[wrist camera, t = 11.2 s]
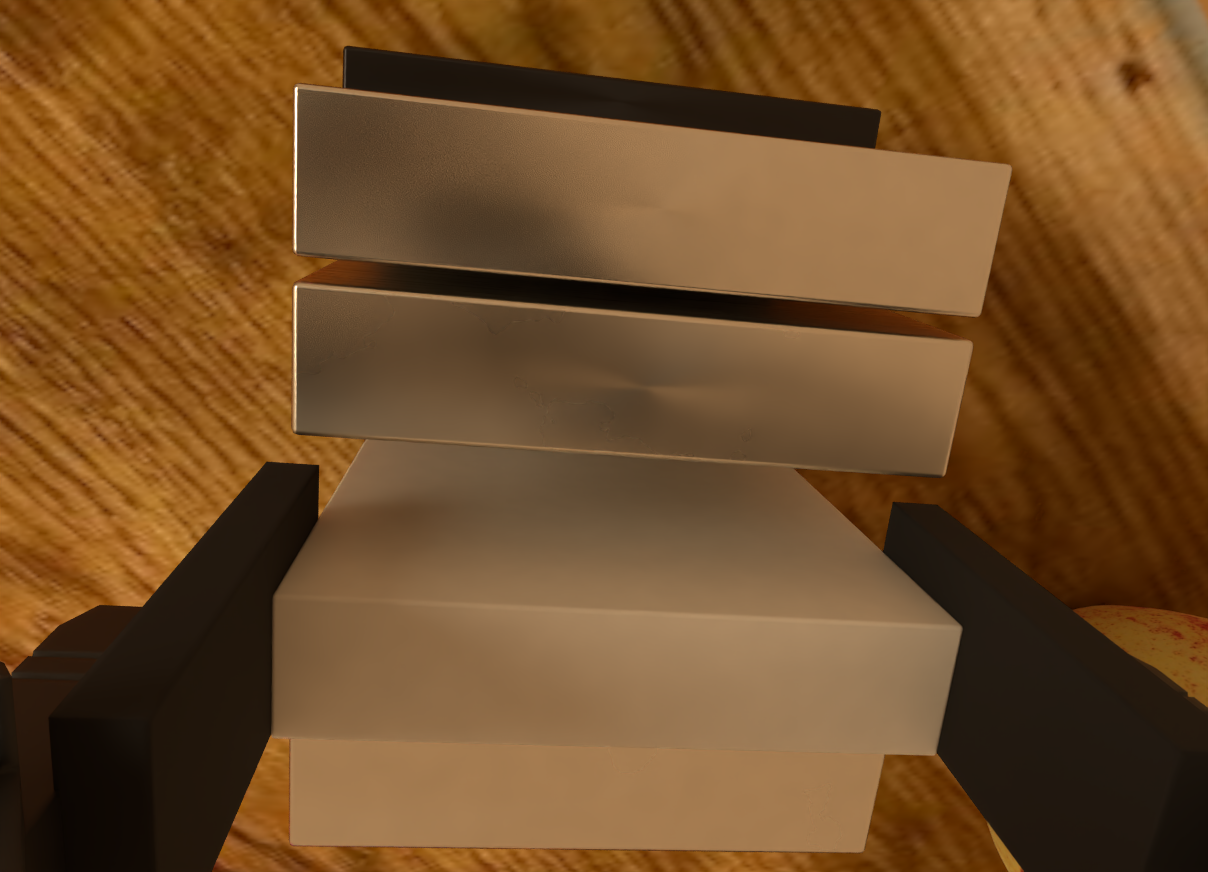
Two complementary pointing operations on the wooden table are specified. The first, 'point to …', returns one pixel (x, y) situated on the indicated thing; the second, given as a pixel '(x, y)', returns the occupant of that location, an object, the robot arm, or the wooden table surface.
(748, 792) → the black book rack
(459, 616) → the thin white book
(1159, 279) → the wooden table surface
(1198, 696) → the apple
